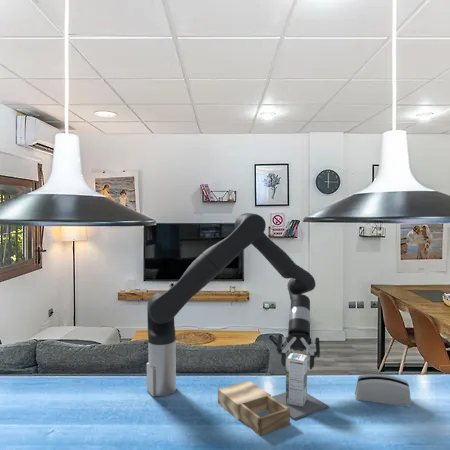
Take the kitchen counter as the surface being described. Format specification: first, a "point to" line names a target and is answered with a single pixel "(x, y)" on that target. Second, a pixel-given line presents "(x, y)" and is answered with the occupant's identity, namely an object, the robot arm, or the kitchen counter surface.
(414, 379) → the kitchen counter surface
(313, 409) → the mat
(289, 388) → the syrup box
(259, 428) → the wooden drawer box
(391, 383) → the grey arched block
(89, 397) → the kitchen counter surface
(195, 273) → the robot arm
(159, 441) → the kitchen counter surface
